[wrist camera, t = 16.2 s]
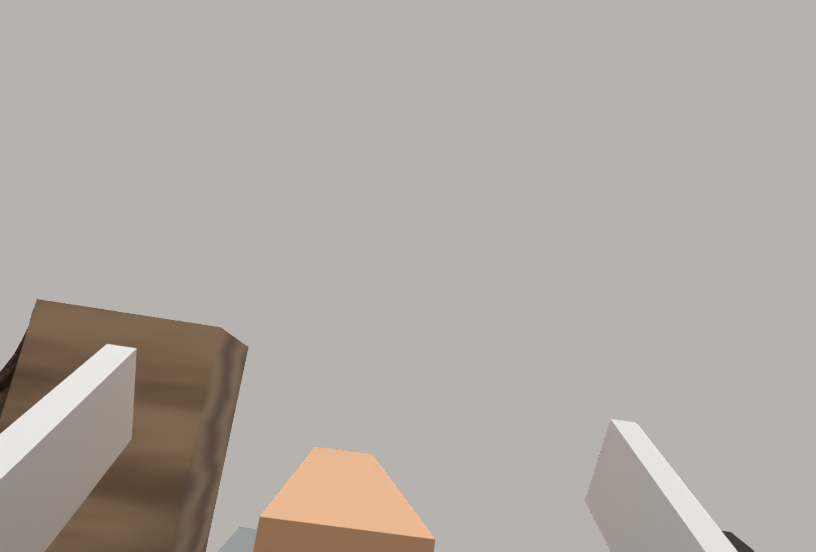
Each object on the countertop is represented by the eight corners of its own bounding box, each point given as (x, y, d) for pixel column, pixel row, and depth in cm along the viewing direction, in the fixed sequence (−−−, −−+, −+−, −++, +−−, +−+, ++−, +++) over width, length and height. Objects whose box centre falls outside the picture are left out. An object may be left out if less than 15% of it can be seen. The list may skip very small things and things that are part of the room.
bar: (411, 741, 11) (435, 539, 12) (220, 722, 11) (259, 516, 12) (363, 515, 35) (372, 454, 36) (304, 507, 35) (315, 446, 36)
